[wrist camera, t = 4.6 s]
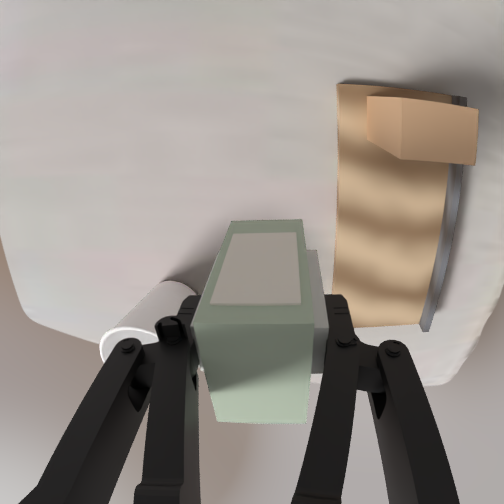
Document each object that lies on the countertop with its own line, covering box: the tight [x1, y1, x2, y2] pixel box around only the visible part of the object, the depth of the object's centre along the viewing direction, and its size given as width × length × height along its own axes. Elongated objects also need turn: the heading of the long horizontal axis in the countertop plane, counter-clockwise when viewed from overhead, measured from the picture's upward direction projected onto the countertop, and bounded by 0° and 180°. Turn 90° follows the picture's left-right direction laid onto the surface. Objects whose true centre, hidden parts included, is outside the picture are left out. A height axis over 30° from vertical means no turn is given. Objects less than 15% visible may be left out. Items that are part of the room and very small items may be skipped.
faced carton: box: [367, 96, 479, 166], centre depth 21 cm, size 4×6×9 cm, turn 94°
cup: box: [100, 281, 196, 363], centre depth 33 cm, size 10×10×11 cm
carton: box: [193, 219, 314, 424], centre depth 16 cm, size 4×6×9 cm, turn 4°
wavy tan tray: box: [332, 84, 467, 332], centre depth 30 cm, size 26×12×3 cm, turn 4°
